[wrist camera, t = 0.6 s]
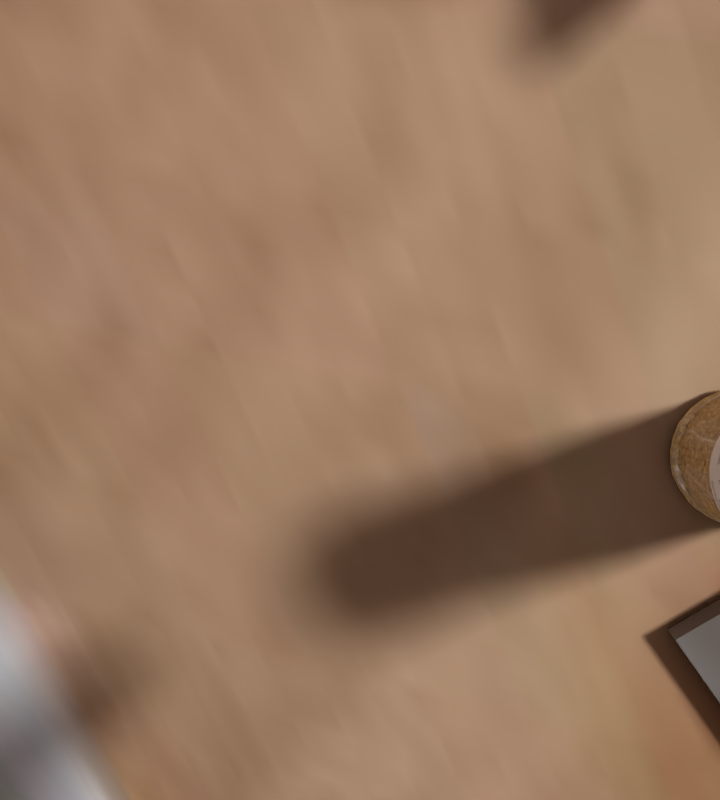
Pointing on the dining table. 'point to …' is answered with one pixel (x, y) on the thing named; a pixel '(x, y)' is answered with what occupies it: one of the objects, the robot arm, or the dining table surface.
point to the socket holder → (702, 644)
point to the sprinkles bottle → (699, 456)
